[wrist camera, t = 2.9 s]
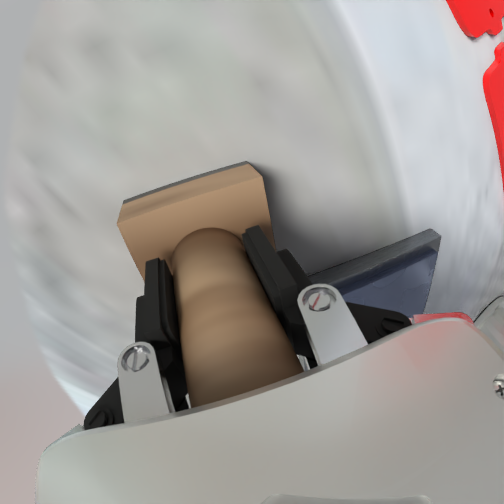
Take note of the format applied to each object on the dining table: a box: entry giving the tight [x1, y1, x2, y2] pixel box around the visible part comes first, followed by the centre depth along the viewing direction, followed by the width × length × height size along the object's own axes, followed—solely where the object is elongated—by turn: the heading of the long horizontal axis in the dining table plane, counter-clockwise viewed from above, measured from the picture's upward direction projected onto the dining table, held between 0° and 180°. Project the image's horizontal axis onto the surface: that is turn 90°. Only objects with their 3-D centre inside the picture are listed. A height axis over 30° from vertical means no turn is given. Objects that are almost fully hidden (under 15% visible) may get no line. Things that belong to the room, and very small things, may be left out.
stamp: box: [117, 161, 305, 408], centre depth 11 cm, size 6×6×10 cm
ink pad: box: [299, 229, 441, 371], centre depth 22 cm, size 14×12×2 cm
